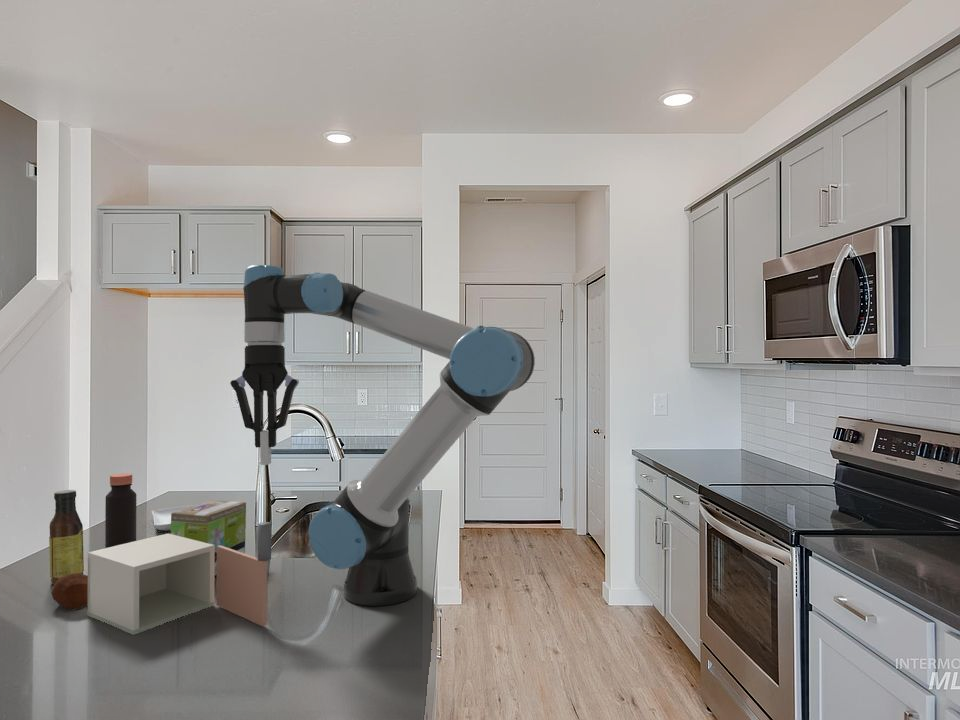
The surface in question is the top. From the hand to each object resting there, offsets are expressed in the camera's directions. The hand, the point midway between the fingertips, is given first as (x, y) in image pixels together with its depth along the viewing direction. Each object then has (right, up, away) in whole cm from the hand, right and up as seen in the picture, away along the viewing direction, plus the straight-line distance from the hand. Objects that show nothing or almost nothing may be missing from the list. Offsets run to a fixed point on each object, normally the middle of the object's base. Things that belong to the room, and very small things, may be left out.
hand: (265, 463), depth 124 cm
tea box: (-21, -29, +23) cm, 42 cm away
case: (-21, -28, -2) cm, 36 cm away
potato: (-39, -29, +1) cm, 48 cm away
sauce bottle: (-49, -29, +14) cm, 58 cm away
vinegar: (-48, -29, +34) cm, 65 cm away
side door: (-3, -28, -4) cm, 28 cm away
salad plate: (-45, -29, +66) cm, 86 cm away
